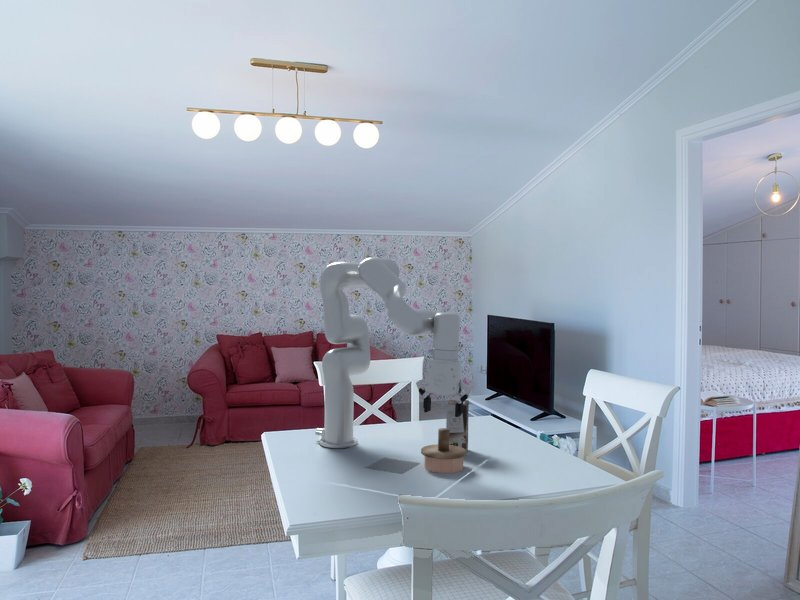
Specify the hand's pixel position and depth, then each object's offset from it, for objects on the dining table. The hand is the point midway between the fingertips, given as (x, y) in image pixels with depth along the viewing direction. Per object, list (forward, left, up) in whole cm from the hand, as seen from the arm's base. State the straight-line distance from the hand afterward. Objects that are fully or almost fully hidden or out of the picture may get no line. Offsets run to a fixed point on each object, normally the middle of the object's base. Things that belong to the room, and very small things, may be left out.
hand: (442, 413), depth 182 cm
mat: (-13, -6, -16) cm, 21 cm away
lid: (+1, 0, -11) cm, 11 cm away
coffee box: (-2, +18, -16) cm, 24 cm away
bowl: (+1, 0, -16) cm, 16 cm away
